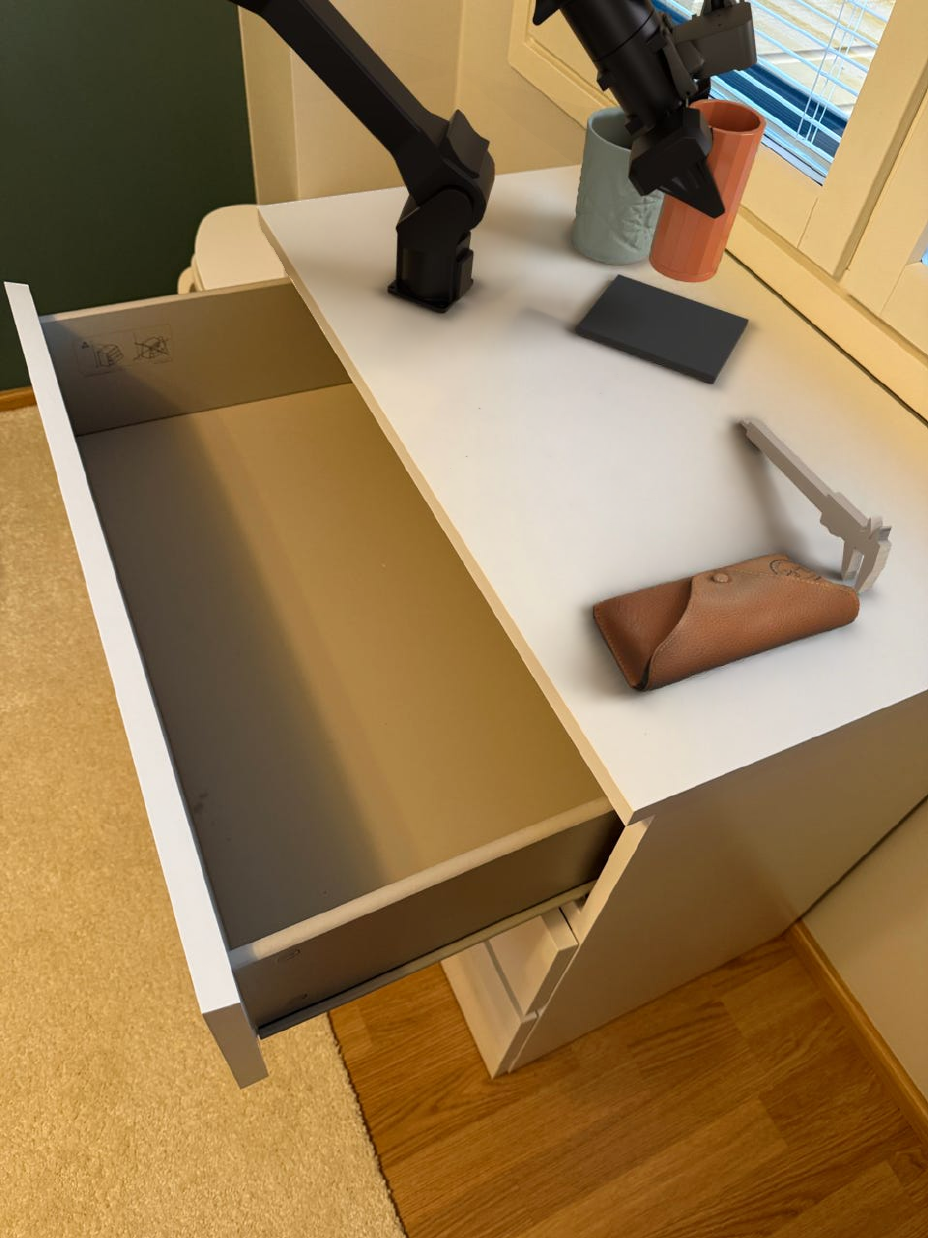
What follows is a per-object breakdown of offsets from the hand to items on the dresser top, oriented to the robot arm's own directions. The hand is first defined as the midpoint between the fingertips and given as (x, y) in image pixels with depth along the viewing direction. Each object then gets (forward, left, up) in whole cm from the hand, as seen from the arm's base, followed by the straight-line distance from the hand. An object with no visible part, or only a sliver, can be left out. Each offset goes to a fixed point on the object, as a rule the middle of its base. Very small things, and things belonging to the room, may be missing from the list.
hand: (719, 195), depth 80 cm
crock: (-1, 0, -7) cm, 7 cm away
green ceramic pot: (-11, +11, -14) cm, 21 cm away
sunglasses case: (+15, -34, -14) cm, 39 cm away
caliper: (+17, -18, -14) cm, 28 cm away
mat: (-1, -1, -13) cm, 14 cm away
